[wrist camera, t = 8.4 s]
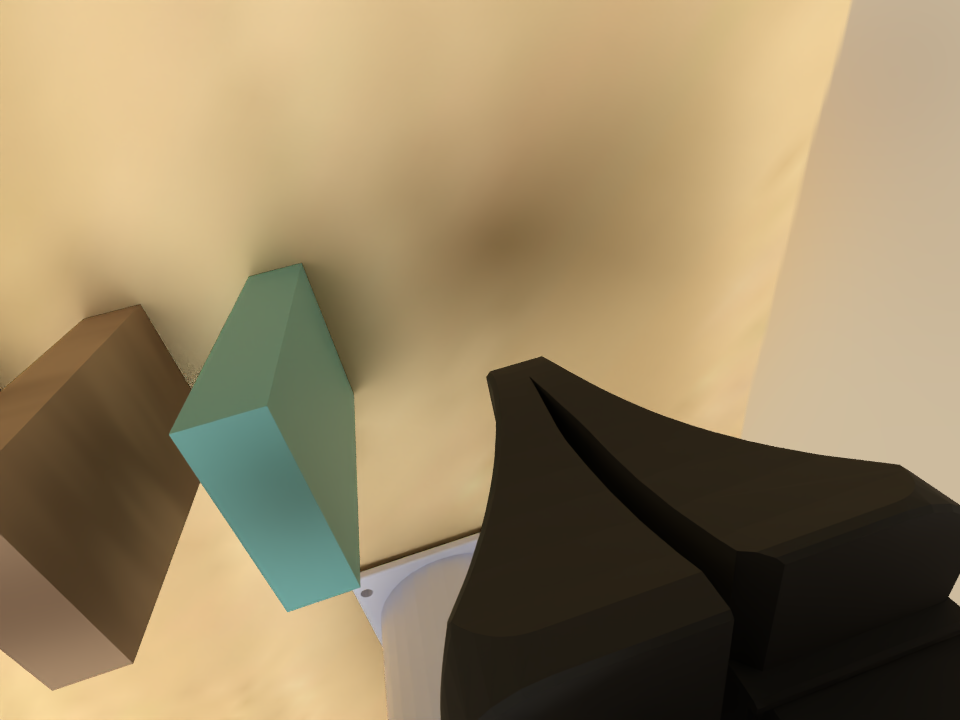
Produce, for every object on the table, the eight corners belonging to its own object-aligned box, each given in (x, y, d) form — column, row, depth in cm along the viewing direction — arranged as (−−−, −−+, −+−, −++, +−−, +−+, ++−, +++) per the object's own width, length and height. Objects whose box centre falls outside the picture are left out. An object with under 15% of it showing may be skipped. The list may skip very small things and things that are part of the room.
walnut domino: (217, 434, 17) (133, 663, 10) (170, 448, 17) (52, 691, 10) (140, 304, 15) (-41, 494, 8) (83, 318, 14) (-154, 526, 8)
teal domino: (353, 394, 18) (360, 587, 11) (309, 407, 17) (287, 612, 11) (301, 262, 15) (267, 406, 8) (248, 276, 15) (168, 434, 8)
